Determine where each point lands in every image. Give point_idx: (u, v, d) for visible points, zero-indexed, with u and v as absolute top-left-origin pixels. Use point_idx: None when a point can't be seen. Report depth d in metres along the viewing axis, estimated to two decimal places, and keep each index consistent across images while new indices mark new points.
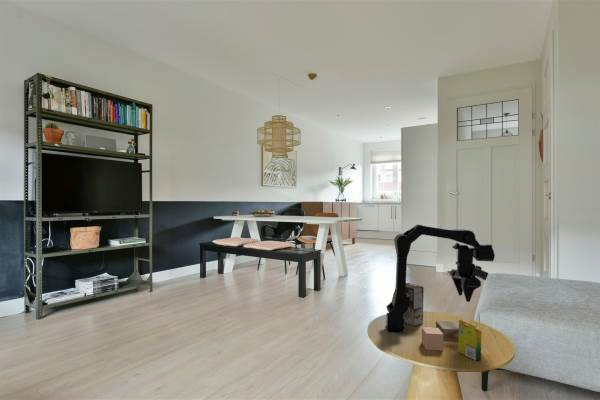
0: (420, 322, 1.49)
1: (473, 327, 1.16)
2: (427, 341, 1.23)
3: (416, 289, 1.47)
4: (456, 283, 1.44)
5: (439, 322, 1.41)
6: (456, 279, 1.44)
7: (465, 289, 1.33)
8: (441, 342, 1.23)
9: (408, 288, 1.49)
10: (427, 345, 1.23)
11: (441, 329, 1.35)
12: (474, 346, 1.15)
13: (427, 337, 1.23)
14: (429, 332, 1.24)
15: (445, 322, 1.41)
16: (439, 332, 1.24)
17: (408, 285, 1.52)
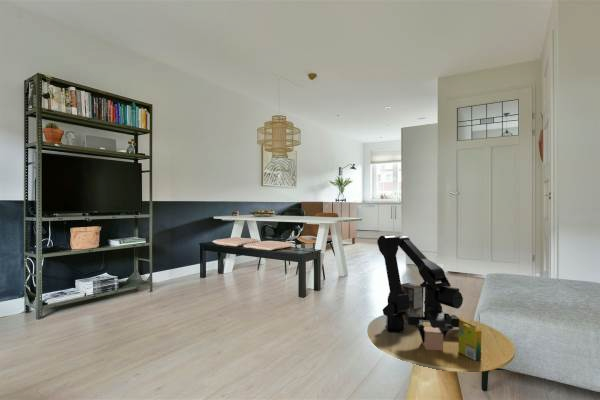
0: None
1: (473, 327, 1.16)
2: (427, 341, 1.23)
3: (416, 289, 1.47)
4: (441, 329, 1.27)
5: None
6: None
7: None
8: (441, 342, 1.23)
9: (408, 288, 1.49)
10: (427, 345, 1.23)
11: None
12: (474, 346, 1.15)
13: (427, 337, 1.23)
14: (429, 332, 1.24)
15: None
16: (439, 332, 1.24)
17: (408, 285, 1.52)
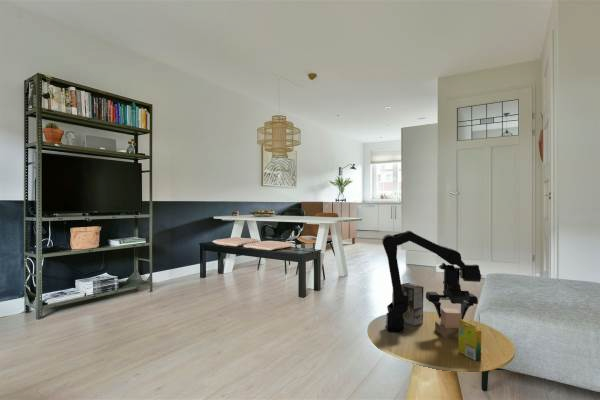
0: (420, 322, 1.49)
1: (473, 327, 1.16)
2: (446, 320, 1.35)
3: (416, 289, 1.47)
4: (461, 306, 1.39)
5: (439, 322, 1.40)
6: None
7: (434, 303, 1.40)
8: None
9: (408, 288, 1.49)
10: (446, 323, 1.35)
11: (442, 330, 1.35)
12: (474, 346, 1.15)
13: (447, 316, 1.35)
14: (448, 312, 1.35)
15: None
16: (457, 312, 1.35)
17: (408, 285, 1.52)
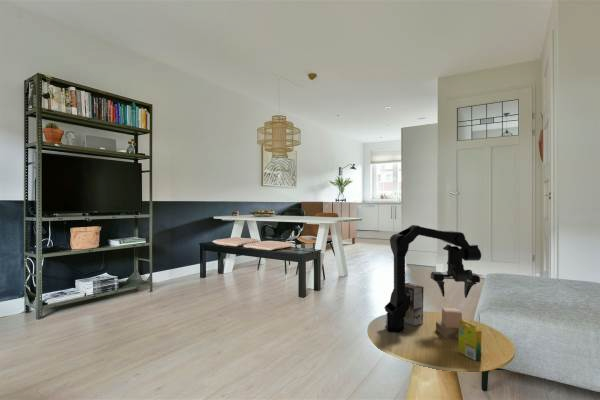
0: (420, 322, 1.49)
1: (473, 327, 1.16)
2: (447, 319, 1.35)
3: (416, 289, 1.47)
4: (465, 285, 1.46)
5: (439, 323, 1.40)
6: (465, 281, 1.46)
7: (438, 283, 1.47)
8: None
9: (408, 288, 1.49)
10: (447, 323, 1.35)
11: (443, 330, 1.35)
12: (474, 346, 1.15)
13: (447, 316, 1.35)
14: (449, 312, 1.36)
15: None
16: (458, 312, 1.36)
17: (408, 285, 1.52)
